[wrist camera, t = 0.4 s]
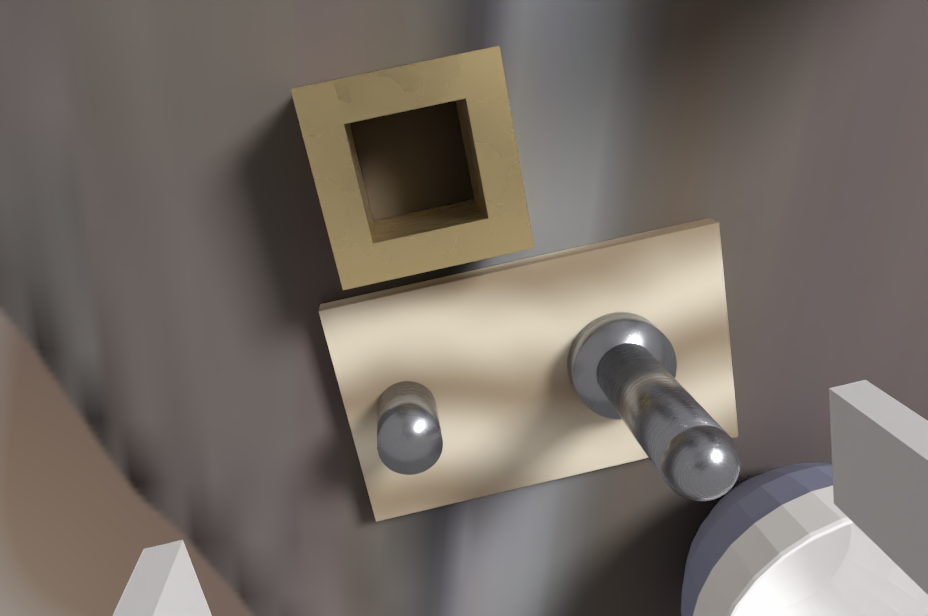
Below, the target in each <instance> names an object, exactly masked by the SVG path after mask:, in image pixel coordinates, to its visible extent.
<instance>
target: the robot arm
mask: <svg viewBox="0 0 928 616" xmlns="http://www.w3.org/2000/svg"><path fill="white" fill-rule="evenodd" d="M829 398H830V422H831V446H832V471H833V495H834V504H835V505H836V506H837V507H838V508H839V509H840V510H841V511H842V512H843V513H844V514H845V515H846V516H847V517H848V518H849V519H850V520H851V521H852V522H853V523H854V524H855V525H856V526H857V527H858V528H860V529H861V530H862V531H863V532H864V533H865V534H866V535H867V536H868V537H869V538H870V539H871V540H872V541H873V542H874V543H875V544H876V545H877V546H878V547H879V548H880V549H881V550H882V551H883V552H884V553H885V554H886V555H887V556H888V557H889V558H890V559H891V560H892V561H893V562H894V563H895V564H897V565H898V566H899V567H900V568H901V569H902V570H903V571H904V572H905V573H906V574H907V575H908V576H909V577H910V578H911V579H912V580H913V581H914V582H915V583H916V584H917V585H918V586H919V587H920V588H921V589H922V590H923V591H924V592H925V593H926V594H927V595H928V421H927V420H926V419H924V418H923V417H921V416H920V415H918V414H916V413H915V412H913V411H912V410H910V409H909V408H907V407H906V406H904V405H903V404H901V403H900V402H898V401H897V400H895V399H894V398H892V397H891V396H889V395H888V394H886V393H885V392H883V391H882V390H880V389H879V388H877V387H876V386H874V385H872V384H871V383H869V382H868V381H866V380H862V381H858V382H854V383H850V384H845V385H841V386H837V387H833V388H829ZM113 616H212V615H211V612H210V610H209V607H208V605H207V602H206V599H205V597H204V594H203V591H202V589H201V586H200V584H199V581H198V578H197V576H196V573H195V570H194V568H193V565H192V563H191V560H190V558H189V555H188V552H187V549H186V547H185V544H184V542H183V540H180V541H176V542H172V543H167V544H163V545H158V546H154V547H150V548H146V549H143V552H142V553H141V556H140V558H139V560H138V562H137V564H136V566H135V568H134V571H133V573H132V575H131V577H130V579H129V581H128V584H127V586H126V588H125V590H124V592H123V595H122V596H121V599H120V601H119V603H118V605H117V607H116V609H115V611H114V614H113Z"/></svg>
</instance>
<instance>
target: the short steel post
mask: <svg viewBox="0 0 928 616" xmlns="http://www.w3.org/2000/svg"><path fill="white" fill-rule="evenodd" d="M442 449H443V440H442V434H441V428H440V423H439V417H438V411H437V406H436V401H435V398H434V396H433V394H432V393H431V391H430V390H429V389H428V388H427V387H425V386H424V385H422V384H420V383H417V382H413V381H403V382H398V383H395V384H393V385H391V386H390V387H388V388H387V389H386V390H385V391H384V392H383V393H382V395H381V396H380V398H379V401H378V404H377V450H378V455H379V457H380V459H381V461H382V462H383V464H384V465H385V466H386V467H388V468H389V469H390V470H392V471H394V472H396V473H399V474H404V475H414V474H419V473H422V472H424V471H426V470H428V469H429V468H431V467H432V466H433V465H434V464H435V463H436V462H437V461H438V459H439V458H440V455H441V453H442Z"/></svg>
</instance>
